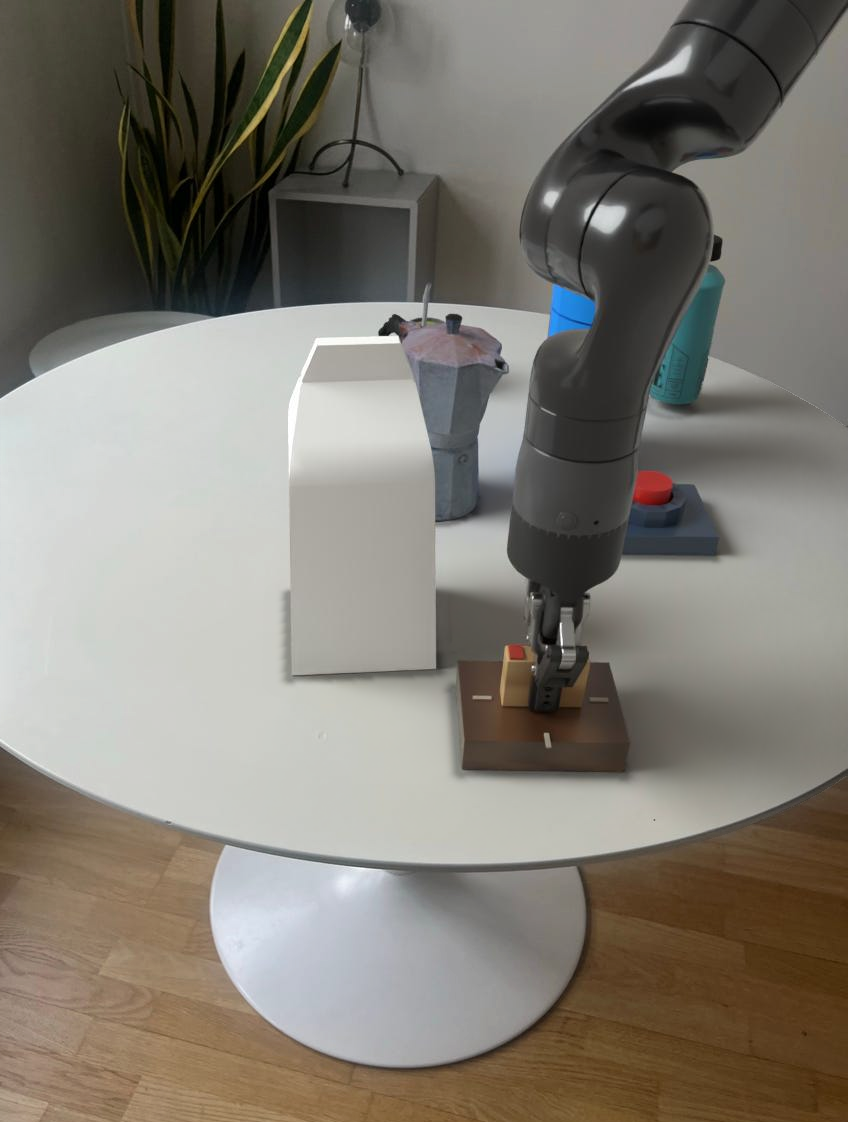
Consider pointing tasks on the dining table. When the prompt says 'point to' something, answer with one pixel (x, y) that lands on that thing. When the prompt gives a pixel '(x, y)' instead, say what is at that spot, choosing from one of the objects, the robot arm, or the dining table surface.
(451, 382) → the moka pot
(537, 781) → the dining table surface
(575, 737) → the panel
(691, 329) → the beverage bottle
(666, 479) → the button
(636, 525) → the button box
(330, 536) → the milk
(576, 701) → the handle
